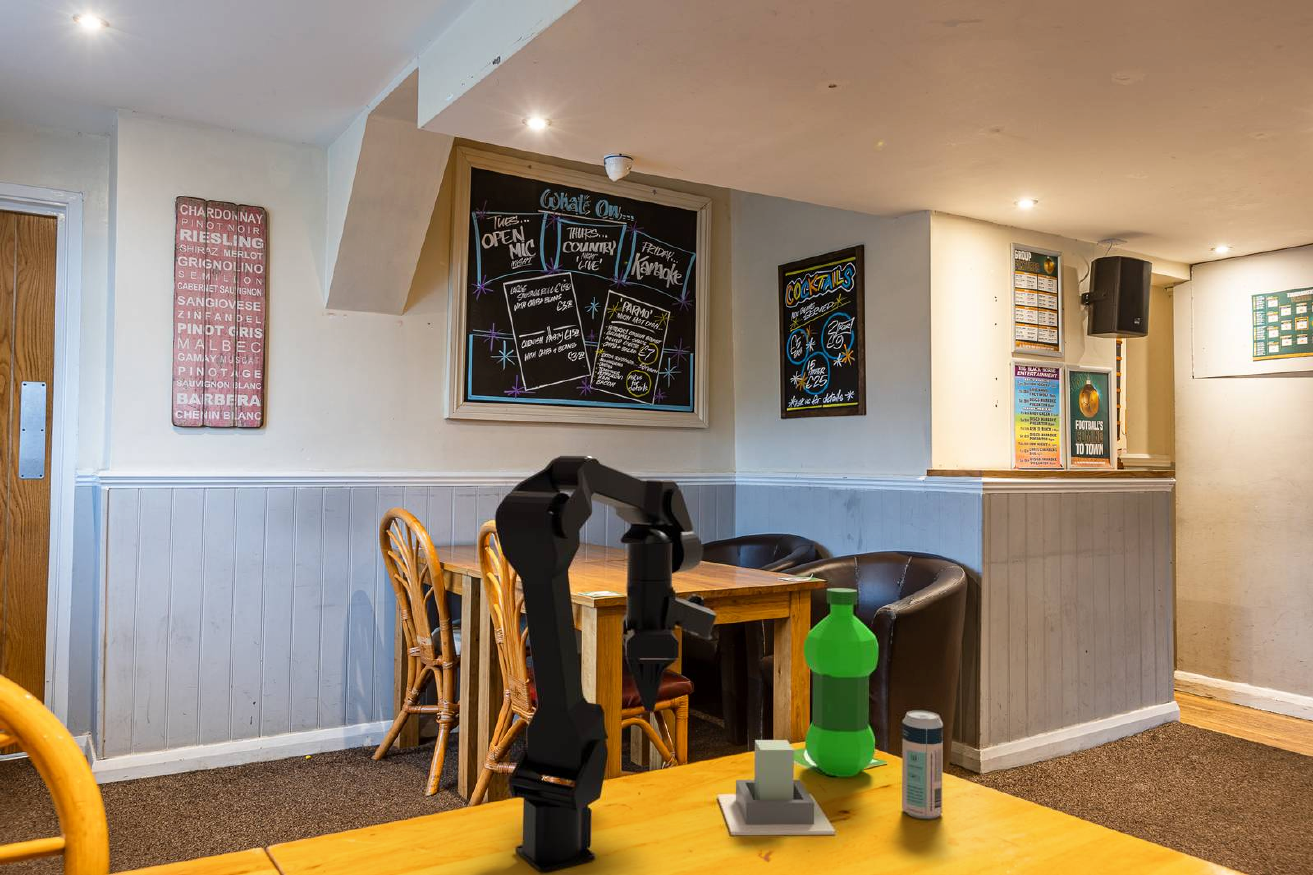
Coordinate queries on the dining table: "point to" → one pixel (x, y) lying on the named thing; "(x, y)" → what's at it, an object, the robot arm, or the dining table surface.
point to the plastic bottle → (841, 688)
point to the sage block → (773, 770)
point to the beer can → (922, 764)
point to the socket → (773, 813)
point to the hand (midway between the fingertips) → (647, 701)
